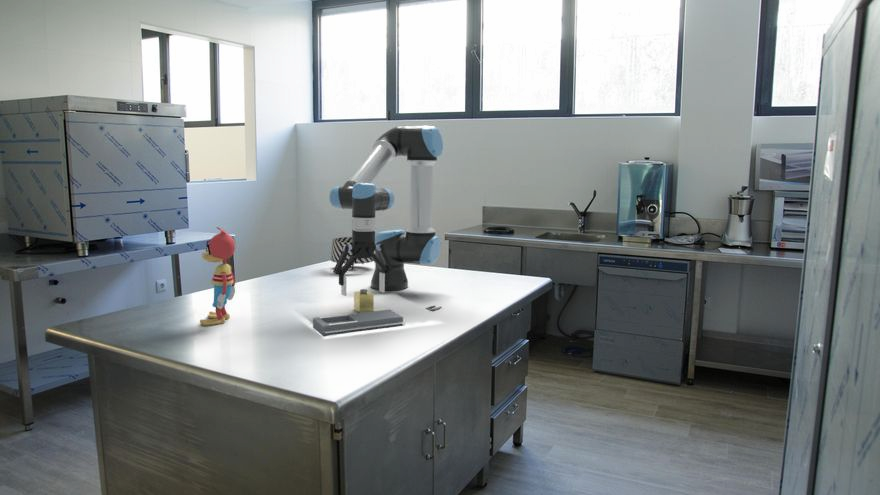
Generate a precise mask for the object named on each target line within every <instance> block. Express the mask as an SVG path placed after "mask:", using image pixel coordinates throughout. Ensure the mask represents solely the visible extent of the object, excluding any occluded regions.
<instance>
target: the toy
mask: <svg viewBox="0 0 880 495" xmlns="http://www.w3.org/2000/svg"><path fill="white" fill-rule="evenodd" d="M216 229H217V230H219V231H220V232H219V233H217V234H215V235H214V236H212V238H211V239H209V240H206V245H205V247H206V248H205V252H203V253H202V254H201V255H202V259H203V260H204V261H206V262H208V263H221V262H222V263H221V264H219V265H217V266H216V268H215V270H214V272H213V276H212V280H211V284H212V285H213V303H212V308H213V307H214V308H215V312H214V311H209V312H208V314H207V318H209V319H200V320H199V323H200V325H201V326H204V327H211V326H215V325H221V324H225V323H226V320H228V319H230V318H231V316H230V314H229V313H228V312H227V310H226V305H227V302H228V301H232V300H233V298H234V296H235V294H236V280H235V275H234V273H233V271H232V270H233V269H232V266H231V265H230V264H229V263H227V259H230V258H231V257H233V255H234V253H235V250H236V242H235V239H234V238H233V237H232V236H231V235H230V234H228V233H227V232H226V231H225V230H224V229H222V228H220V227H216Z"/></svg>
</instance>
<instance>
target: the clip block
mask: <svg viewBox="0 0 880 495" xmlns="http://www.w3.org/2000/svg"><path fill="white" fill-rule="evenodd" d="M374 301H375V300H374V293H373V292H371V291H370V290H368V289H366V288H362V289H360V290H359V291H353V309H354V311H356V313H362V312H372V311H375V310H374V306H375V305H374V304H375V303H374Z"/></svg>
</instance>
